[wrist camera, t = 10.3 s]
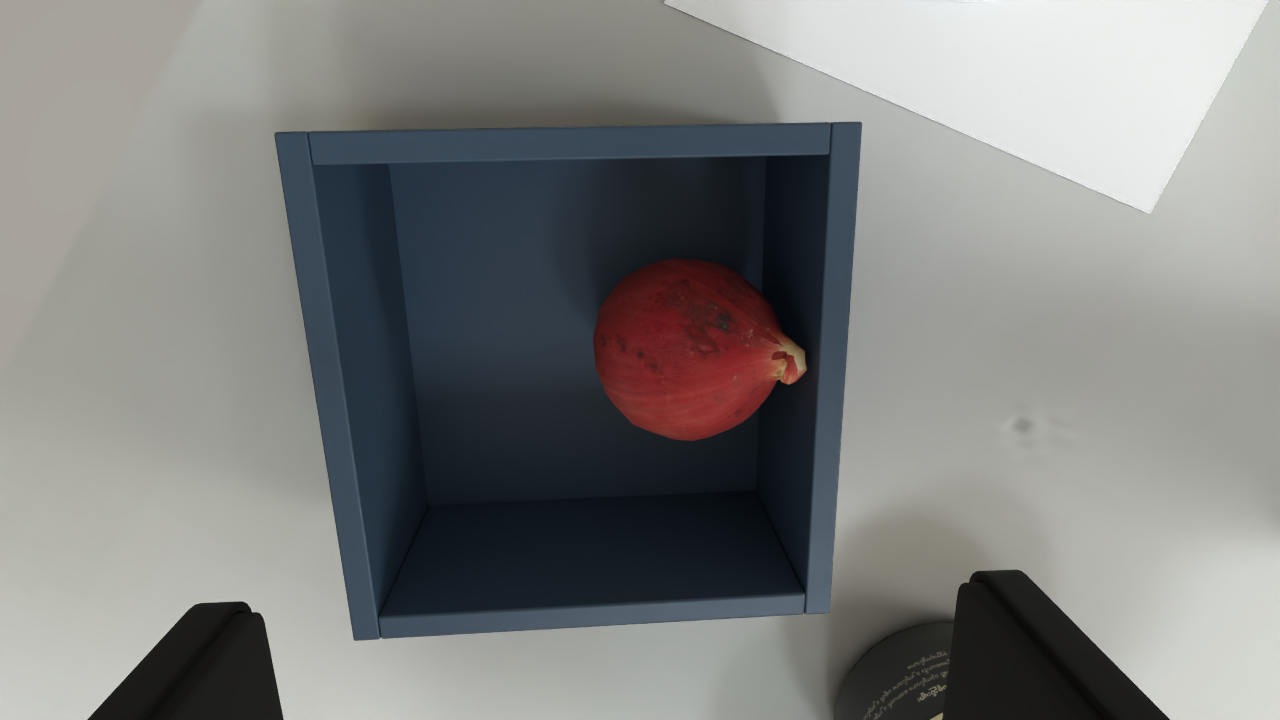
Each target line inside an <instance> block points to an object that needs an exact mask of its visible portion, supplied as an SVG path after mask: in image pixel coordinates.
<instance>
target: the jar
mask: <svg viewBox="0 0 1280 720" xmlns="http://www.w3.org/2000/svg"><path fill="white" fill-rule="evenodd" d="M953 627H954V623H929V624H923V625H918V626H914V627H911V628H908V629H905V630H902V631H900V632H897V633H895V634H893V635H891V636H889V637H887V638H886V639H884V640H882V641H881V642H879V643H878V644H877V645H875V646H874V647H873V648H871V649H870V650H869V651H868V652H867V653H866V654H865V655H864V656H863V657H862V658H861V659H860V660H859V661H858V662H857V663H856V665H855V666H854V667H853V669H852V670H851V672H850V674H849V675H848V677H847V679H846V680H845V682H844V684H843V686H842V688H841V690H840V693H839V696H838V699H837V703H836V708H835V720H942V717H943V709H944V701H945V693H946V684H947V676H948V668H949V660H950V652H951V644H952V635H953Z"/></svg>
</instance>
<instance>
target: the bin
mask: <svg viewBox="0 0 1280 720" xmlns="http://www.w3.org/2000/svg"><path fill="white" fill-rule="evenodd" d="M861 131H862V123H861V122H832V123H829V122H818V123H761V124H704V125H647V126H590V127H533V128H475V129H418V130H361V131H311V132H305V131H303V132H276V133H275V142H276V148H277V154H278V161H279V167H280V173H281V180H282V186H283V192H284V199H285V205H286V211H287V218H288V224H289V231H290V237H291V243H292V250H293V256H294V262H295V269H296V275H297V281H298V288H299V294H300V300H301V307H302V313H303V320H304V326H305V332H306V339H307V345H308V351H309V358H310V364H311V370H312V377H313V383H314V389H315V396H316V402H317V409H318V415H319V421H320V428H321V434H322V440H323V447H324V453H325V459H326V466H327V472H328V478H329V485H330V491H331V498H332V504H333V510H334V517H335V523H336V529H337V536H338V542H339V548H340V555H341V561H342V567H343V574H344V580H345V587H346V593H347V599H348V606H349V612H350V618H351V625H352V631H353V637H354V640H355V641H358V640H375V639H380V637H381V638H383V639H386V638H404V637H421V636H438V635H455V634H472V633H489V632H507V631H524V630H541V629H558V628H575V627H592V626H609V625H627V624H644V623H661V622H678V621H695V620H712V619H730V618H747V617H764V616H781V615H798V614H803V613H805V614H822V613H829V611H830V597H831V582H832V567H833V552H834V537H835V522H836V507H837V492H838V477H839V462H840V447H841V432H842V417H843V402H844V387H845V372H846V357H847V342H848V326H849V311H850V296H851V281H852V266H853V251H854V236H855V221H856V206H857V191H858V176H859V161H860V146H861ZM670 258H680V259H691V260H701V261H710V262H716V263H719V264H721V265H723V266H725V267H728V268H730V269H732V270H733V271H735V272H736V273H737V274H739V275H740V276H742V277H743V278H744V279H746V280H747V281H748V282H750V283H751V284H752V285H753V286H755V287H756V288H757V289H758V290H759V291H760V292H761V293H762V294H763V295H764V296H765V298H766V299H767V300H768V302H769V303H770V305H771V306H772V309H773V311H774V313H775V315H776V317H777V319H778V321H779V324H780V326H781V331H782V332H783V333H784V334H785V335H786V336H787V337H789V338H790V339H791V340H792V341H793V342H794V343H795V344H797V345H798V346H799V347H800V348H801V349H803V350H804V351H805V362H806V367H807V370H806V371H805V372H804V374H803V375H802V376H801V377H800V378H799V379H798V380H797V381H796V382H794V383H791V384H789V385H788V384H785V383H782V382H781V379H780V380H777V382H776V384H775V386H774V388H773V390H772V391H771V393H770V395H769V396H768V397H767V398H766V399H765V401H764V402H763V403H762V404H761V405H760V406H759V408H758V409H757V410H756V411H755V412H754V413H753V414H752V415H751V416H750V417H748V418H747V419H746V420H745V421H743V422H742V423H740V424H738V425H737V426H735V427H733V428H731V429H729V430H726V431H723V432H721V433H718V434H716V435H713V436H711V437H707V438H703V439H699V440H695V441H688V440H674V439H671V438H668V437H665V436H662V435H659V434H656V433H653V432H650V431H648V430H645V429H643V428H640V427H638V426H635V425H633V424H632V423H631V422H630V421H629V420H628V419H627V418H626V417H625V416H624V415H623V413H622V412H621V411H620V410H619V409H618V408H617V407H616V406H615V405H614V404H613V402H612V401H611V400H610V398H609V397H608V396H607V394H606V393H605V390H604V388H603V385H602V383H601V380H600V378H599V375H598V373H597V370H596V365H595V355H594V346H593V336H594V331H595V327H596V322H597V318H598V313H599V309H600V307H601V306H602V304H603V303H604V301H605V300H606V298H607V297H608V296H609V294H610V293H611V291H612V290H613V288H614V287H615V286H616V285H617V284H618V283H619V282H620V281H621V280H623V279H624V278H625V277H626V276H627V275H629V274H630V273H632V272H635V271H637V270H639V269H641V268H643V267H645V266H647V265H649V264H651V263H653V262H657V261H662V260H666V259H670Z"/></svg>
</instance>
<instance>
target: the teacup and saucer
mask: <svg viewBox="0 0 1280 720" xmlns="http://www.w3.org/2000/svg"><path fill="white" fill-rule="evenodd" d="M948 1H949V2H954V3H961V4H982V3H989V2H994V1H995V0H948Z"/></svg>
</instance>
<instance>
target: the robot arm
mask: <svg viewBox="0 0 1280 720" xmlns="http://www.w3.org/2000/svg"><path fill="white" fill-rule="evenodd" d="M88 720H283V715H282V710H281V705H280V699H279V694H278V689H277V684H276V679H275V674H274V669H273V663H272V658H271V653H270V648H269V643H268V638H267V633H266V628H265V623H264V619H263V617H262V616H261V614H260V613H257V612H254V613H252V611H251V608H250V607H249V606H248V604H247V603H244V602H219V603H200V604H196V605H194V606H193V607H192V608H190V609H189V610H188V611H187V612H186V613H185V614H184V615H183V617H182V618H181V619H180V620H179V621H178V622H177V623H176V624H175V625H174V626H173V627H172V628H171V630H170V631H169V632H168V633H167V634H166V635H165V636H164V637H163V638H162V639H161V640H160V641H159V643H158V644H157V645H156V646H155V647H154V648H153V649H152V650H151V651H150V652H149V653H148V655H147V656H146V657H145V658H144V659H143V660H142V661H141V662H140V663H139V664H138V665H137V666H136V668H135V669H134V670H133V671H132V672H131V673H130V674H129V675H128V676H127V677H126V678H125V679H124V681H123V682H122V683H121V684H120V685H119V686H118V687H117V688H116V689H115V690H114V691H113V692H112V694H111V695H110V696H109V697H108V698H107V699H106V700H105V701H104V702H103V703H102V704H101V705H100V707H99V708H98V709H97V710H96V711H95V712H94V713H93V714H92V715H91V716H90V717H89V719H88ZM942 720H1170V719H1169V718H1168V717H1167V716H1166V715H1165V714H1164V713H1163V712H1162V711H1161V710H1160V709H1159V708H1158V707H1157V706H1156V705H1155V704H1154V703H1153V702H1152V701H1151V700H1150V699H1149V698H1148V697H1147V696H1146V695H1145V694H1144V693H1143V692H1142V691H1141V690H1140V689H1139V688H1138V687H1137V686H1136V685H1135V684H1134V683H1133V682H1132V681H1131V680H1130V679H1129V678H1128V677H1127V676H1126V675H1125V674H1124V673H1123V672H1122V671H1121V670H1120V669H1119V668H1118V667H1117V666H1116V665H1115V664H1114V663H1113V662H1112V661H1111V660H1110V659H1109V658H1108V657H1107V656H1106V655H1105V654H1104V653H1103V652H1102V651H1101V650H1100V649H1099V648H1098V647H1097V646H1096V645H1095V644H1094V643H1093V642H1092V641H1091V640H1090V639H1089V638H1088V637H1087V636H1086V635H1085V633H1084V632H1083V631H1082V630H1081V629H1080V628H1079V627H1078V626H1077V625H1076V624H1075V623H1074V622H1073V621H1072V620H1071V619H1070V618H1069V617H1068V616H1067V615H1066V614H1065V613H1064V612H1063V611H1062V610H1061V609H1060V608H1059V607H1058V606H1057V605H1056V604H1055V603H1054V602H1053V601H1052V600H1051V599H1050V598H1049V597H1048V596H1047V595H1046V594H1045V593H1044V592H1043V591H1042V590H1041V589H1040V588H1039V587H1038V586H1037V585H1036V584H1035V583H1034V582H1033V581H1032V580H1031V579H1030V578H1029V577H1028V576H1027V575H1026V574H1024V573H1023V572H1022V571H1019V570H997V571H977V572H975V573H973V574H972V576H971V578H970V580H969V583H963V584H961V585H960V587H959V590H958V595H957V603H956V611H955V619H954V627H953V635H952V644H951V652H950V660H949V668H948V676H947V684H946V693H945V701H944V709H943V717H942Z"/></svg>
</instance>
